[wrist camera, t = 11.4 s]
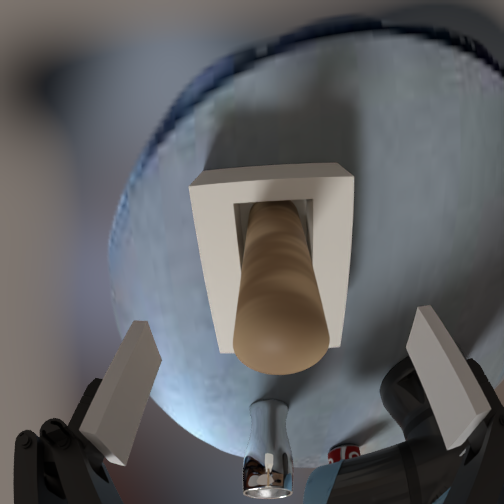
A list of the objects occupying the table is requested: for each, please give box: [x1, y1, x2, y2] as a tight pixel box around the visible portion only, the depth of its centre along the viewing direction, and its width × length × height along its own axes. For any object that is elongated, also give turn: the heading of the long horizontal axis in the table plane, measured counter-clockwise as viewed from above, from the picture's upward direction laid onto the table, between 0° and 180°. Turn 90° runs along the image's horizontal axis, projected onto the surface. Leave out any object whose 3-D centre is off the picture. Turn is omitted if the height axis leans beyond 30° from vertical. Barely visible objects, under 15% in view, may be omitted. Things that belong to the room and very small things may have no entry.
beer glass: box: [243, 399, 294, 499], centre depth 36 cm, size 7×7×15 cm
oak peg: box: [233, 200, 330, 375], centre depth 20 cm, size 4×4×15 cm
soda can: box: [328, 444, 360, 464], centre depth 45 cm, size 7×7×12 cm
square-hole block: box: [189, 163, 354, 353], centre depth 27 cm, size 12×17×6 cm
